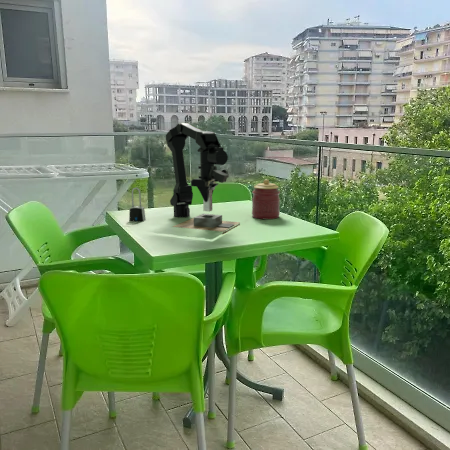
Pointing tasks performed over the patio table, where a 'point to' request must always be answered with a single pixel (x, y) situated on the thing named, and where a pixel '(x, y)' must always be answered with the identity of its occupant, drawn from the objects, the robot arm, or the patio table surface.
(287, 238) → the patio table surface
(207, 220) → the chuck stand
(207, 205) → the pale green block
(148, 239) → the patio table surface
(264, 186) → the canister
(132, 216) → the padlock
